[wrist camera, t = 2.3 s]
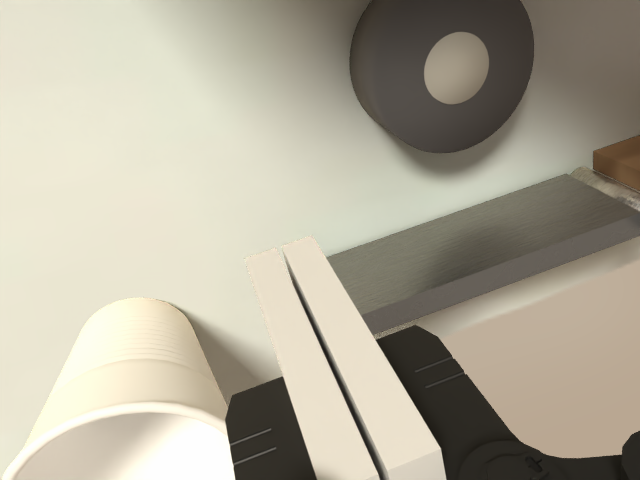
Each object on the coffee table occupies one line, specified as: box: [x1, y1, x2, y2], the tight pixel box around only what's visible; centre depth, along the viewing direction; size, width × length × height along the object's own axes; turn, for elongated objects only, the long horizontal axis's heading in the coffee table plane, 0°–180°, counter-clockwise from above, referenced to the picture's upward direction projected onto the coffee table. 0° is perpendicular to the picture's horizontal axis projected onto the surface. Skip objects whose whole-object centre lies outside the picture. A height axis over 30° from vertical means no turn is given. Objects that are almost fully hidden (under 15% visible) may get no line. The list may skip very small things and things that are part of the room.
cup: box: [1, 298, 235, 480], centre depth 27 cm, size 10×10×11 cm
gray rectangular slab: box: [326, 167, 640, 335], centre depth 31 cm, size 18×2×7 cm, turn 103°
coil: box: [350, 0, 534, 153], centre depth 27 cm, size 8×8×4 cm
